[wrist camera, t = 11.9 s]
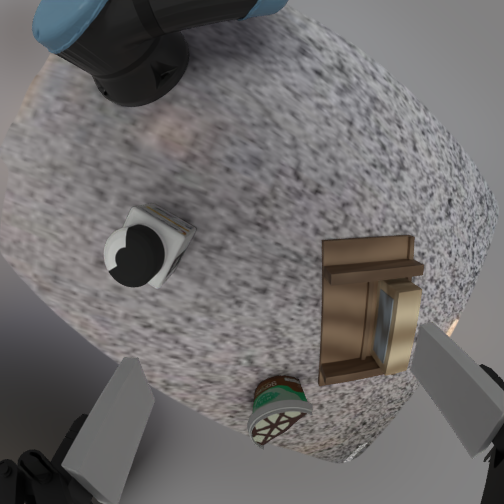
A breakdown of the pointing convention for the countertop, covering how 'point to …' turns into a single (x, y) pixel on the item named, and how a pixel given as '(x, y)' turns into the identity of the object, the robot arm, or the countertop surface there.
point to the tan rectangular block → (395, 324)
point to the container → (147, 246)
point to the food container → (276, 408)
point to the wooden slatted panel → (357, 300)
